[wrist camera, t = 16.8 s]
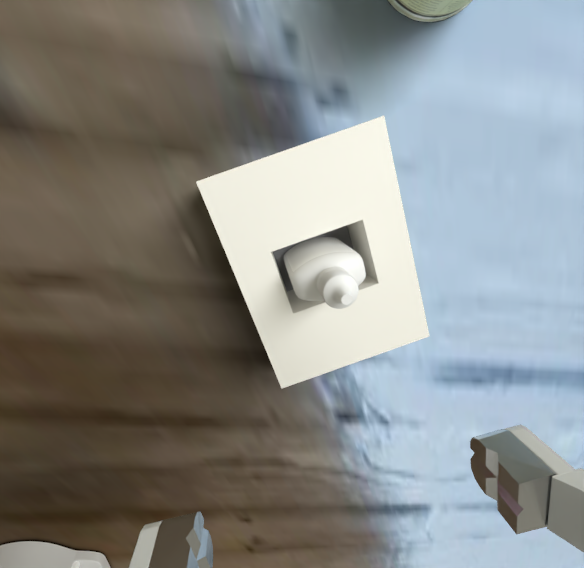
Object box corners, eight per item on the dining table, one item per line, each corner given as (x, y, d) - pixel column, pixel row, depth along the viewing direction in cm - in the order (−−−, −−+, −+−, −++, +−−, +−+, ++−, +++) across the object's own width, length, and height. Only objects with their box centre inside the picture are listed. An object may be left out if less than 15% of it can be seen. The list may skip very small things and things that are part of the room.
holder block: (400, 310, 34) (429, 336, 28) (277, 353, 34) (281, 388, 28) (357, 129, 28) (384, 115, 22) (208, 181, 28) (196, 181, 22)
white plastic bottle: (289, 227, 29) (311, 255, 18) (346, 239, 30) (400, 274, 19) (279, 271, 31) (293, 324, 19) (334, 282, 32) (378, 338, 20)
